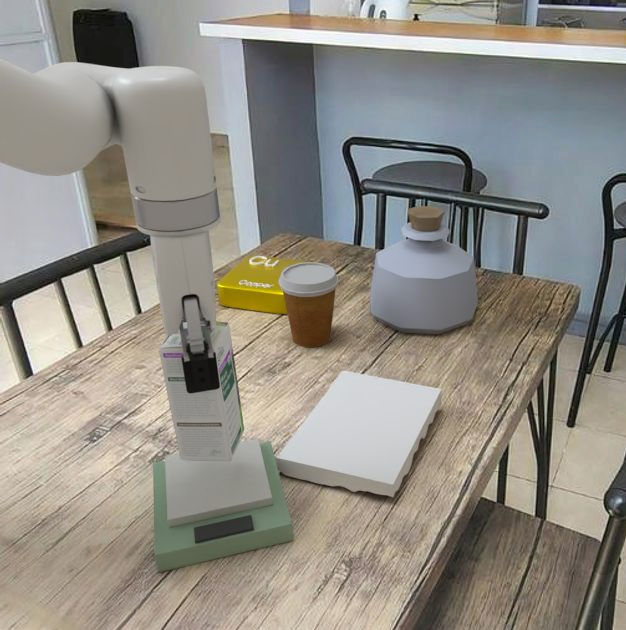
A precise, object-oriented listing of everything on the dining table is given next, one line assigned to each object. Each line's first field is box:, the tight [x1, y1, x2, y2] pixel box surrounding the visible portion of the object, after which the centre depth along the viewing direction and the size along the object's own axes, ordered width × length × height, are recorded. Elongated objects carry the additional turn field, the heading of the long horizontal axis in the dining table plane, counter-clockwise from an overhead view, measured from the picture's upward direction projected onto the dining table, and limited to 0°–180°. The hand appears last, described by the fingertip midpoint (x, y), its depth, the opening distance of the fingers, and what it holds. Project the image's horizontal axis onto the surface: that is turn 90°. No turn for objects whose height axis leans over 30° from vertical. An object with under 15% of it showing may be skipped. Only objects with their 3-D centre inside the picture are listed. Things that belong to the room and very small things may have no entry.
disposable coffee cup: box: [278, 261, 339, 348], centre depth 111 cm, size 10×10×12 cm
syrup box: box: [158, 320, 245, 462], centre depth 73 cm, size 6×6×14 cm
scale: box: [152, 438, 294, 573], centre depth 78 cm, size 14×15×4 cm
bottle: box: [368, 205, 479, 335], centre depth 120 cm, size 20×20×19 cm
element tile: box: [216, 254, 310, 315], centre depth 128 cm, size 15×15×5 cm
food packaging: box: [276, 370, 443, 498], centre depth 90 cm, size 15×3×20 cm
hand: (200, 368), depth 72 cm, fingers closed on syrup box, 7 cm apart
